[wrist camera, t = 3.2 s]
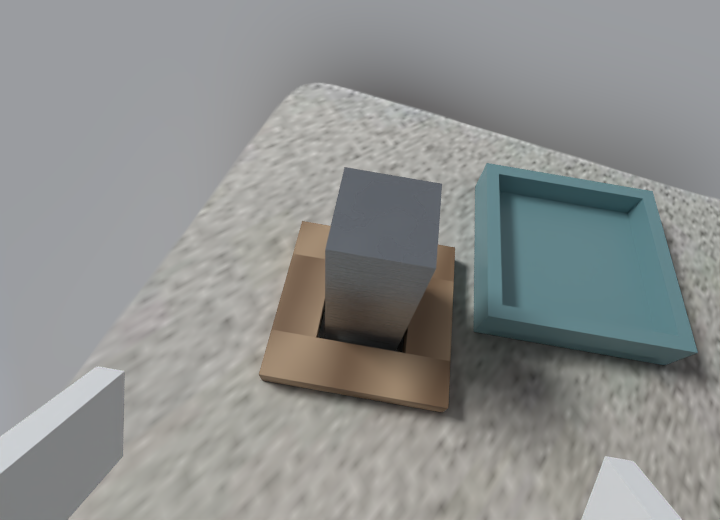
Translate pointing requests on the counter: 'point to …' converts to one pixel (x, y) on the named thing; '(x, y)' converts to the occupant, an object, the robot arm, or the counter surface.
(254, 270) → the counter surface
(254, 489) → the counter surface
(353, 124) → the counter surface
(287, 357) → the socket plate
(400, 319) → the grey rectangular block
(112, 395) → the robot arm
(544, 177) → the tray
